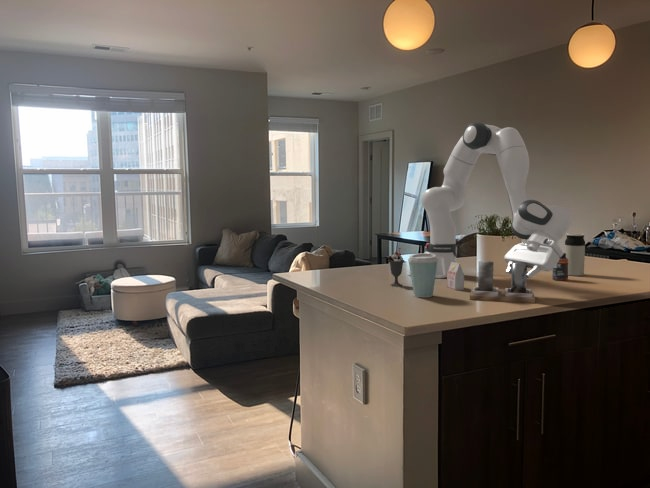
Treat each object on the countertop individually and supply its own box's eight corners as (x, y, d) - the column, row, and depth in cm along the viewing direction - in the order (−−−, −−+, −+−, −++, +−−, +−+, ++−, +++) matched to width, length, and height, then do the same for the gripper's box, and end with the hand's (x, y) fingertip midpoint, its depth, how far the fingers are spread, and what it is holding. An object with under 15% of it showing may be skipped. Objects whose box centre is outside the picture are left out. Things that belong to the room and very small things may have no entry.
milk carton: (455, 286, 206) (455, 261, 205) (463, 289, 199) (464, 263, 198) (446, 287, 205) (447, 261, 204) (455, 290, 198) (455, 264, 197)
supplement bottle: (564, 278, 220) (565, 252, 219) (570, 281, 214) (571, 253, 213) (550, 278, 221) (551, 251, 220) (554, 281, 215) (555, 253, 214)
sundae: (406, 284, 212) (406, 247, 210) (402, 287, 205) (403, 249, 204) (389, 283, 214) (390, 247, 212) (386, 286, 207) (386, 248, 206)
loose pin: (510, 295, 180) (511, 263, 179) (510, 292, 185) (511, 261, 184) (526, 296, 179) (527, 264, 177) (525, 293, 183) (526, 262, 182)
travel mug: (575, 276, 224) (577, 235, 222) (559, 274, 231) (561, 233, 229) (587, 275, 228) (589, 234, 226) (571, 272, 235) (573, 232, 233)
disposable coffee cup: (431, 300, 181) (432, 257, 179) (402, 297, 187) (403, 255, 185) (442, 294, 190) (442, 253, 188) (414, 292, 196) (414, 252, 194)
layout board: (469, 299, 181) (470, 263, 180) (471, 293, 193) (472, 259, 191) (534, 303, 175) (536, 266, 173) (532, 296, 186) (533, 261, 185)
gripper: (513, 237, 192) (491, 265, 189) (558, 242, 173) (535, 273, 170) (522, 248, 194) (501, 276, 191) (567, 254, 175) (544, 285, 173)
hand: (517, 275), depth 181 cm, fingers open, 8 cm apart
